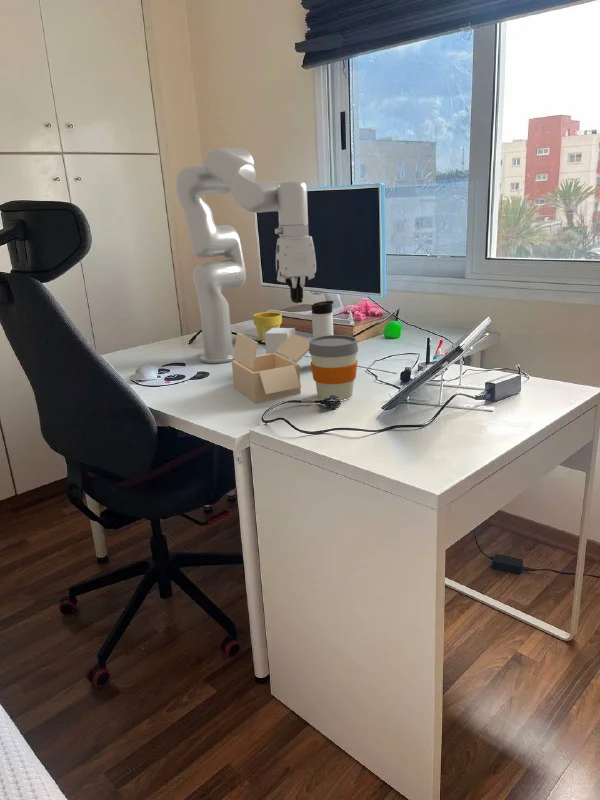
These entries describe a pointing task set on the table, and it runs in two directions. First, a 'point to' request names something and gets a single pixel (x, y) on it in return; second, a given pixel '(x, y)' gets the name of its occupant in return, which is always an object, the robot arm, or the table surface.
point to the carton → (267, 378)
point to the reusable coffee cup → (334, 365)
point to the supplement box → (277, 340)
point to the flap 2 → (294, 347)
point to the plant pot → (266, 322)
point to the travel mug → (322, 319)
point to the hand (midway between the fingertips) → (297, 301)
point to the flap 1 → (245, 350)
